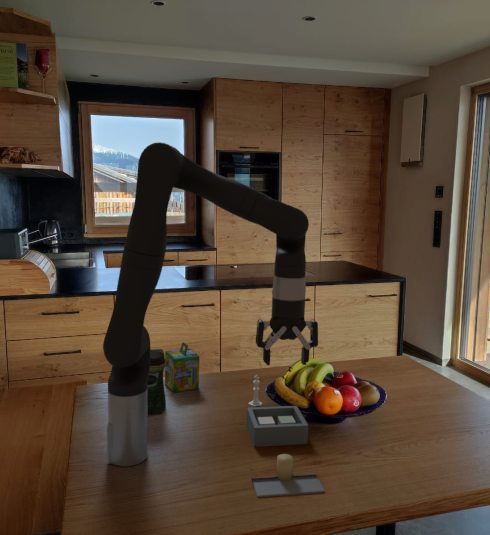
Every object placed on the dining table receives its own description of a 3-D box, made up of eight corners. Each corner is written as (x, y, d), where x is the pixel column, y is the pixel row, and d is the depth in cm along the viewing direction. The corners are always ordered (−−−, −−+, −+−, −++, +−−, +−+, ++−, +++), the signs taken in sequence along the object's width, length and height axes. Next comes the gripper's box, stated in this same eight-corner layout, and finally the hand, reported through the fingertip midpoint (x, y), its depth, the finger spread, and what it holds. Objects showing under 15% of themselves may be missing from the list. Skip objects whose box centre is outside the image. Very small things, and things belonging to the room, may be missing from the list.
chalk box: (164, 383, 168) (164, 341, 165) (189, 379, 172) (189, 338, 170) (173, 393, 159) (173, 349, 157) (199, 389, 164) (200, 345, 162)
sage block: (280, 437, 130) (281, 423, 130) (277, 430, 134) (277, 416, 134) (295, 436, 131) (295, 422, 130) (291, 429, 135) (292, 415, 134)
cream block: (259, 438, 129) (260, 424, 129) (256, 431, 133) (257, 417, 133) (274, 437, 130) (275, 423, 129) (271, 430, 134) (272, 416, 133)
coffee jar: (165, 404, 151) (165, 345, 149) (166, 415, 144) (166, 353, 141) (132, 406, 149) (132, 346, 147) (132, 417, 142) (131, 355, 139)
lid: (257, 499, 106) (257, 476, 105) (247, 467, 119) (247, 445, 118) (324, 494, 108) (325, 471, 107) (307, 463, 121) (308, 442, 120)
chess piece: (257, 411, 148) (258, 379, 147) (244, 406, 151) (245, 375, 150) (266, 406, 152) (267, 374, 150) (253, 401, 155) (254, 371, 153)
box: (253, 450, 125) (254, 427, 124) (246, 428, 137) (247, 407, 136) (307, 447, 127) (308, 425, 126) (295, 425, 139) (296, 405, 138)
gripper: (260, 299, 108) (258, 370, 110) (323, 299, 110) (320, 369, 112) (255, 292, 115) (253, 359, 118) (314, 292, 117) (311, 358, 120)
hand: (285, 364), depth 115 cm, fingers open, 8 cm apart
